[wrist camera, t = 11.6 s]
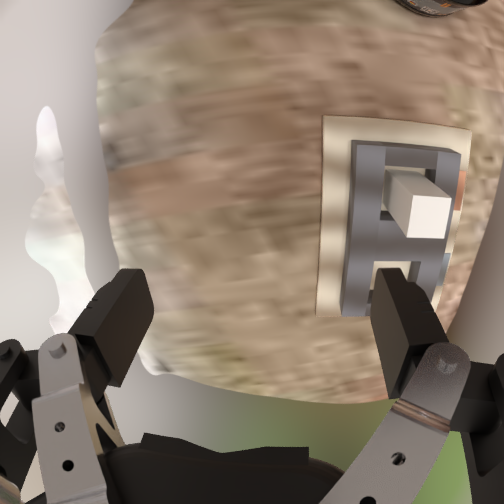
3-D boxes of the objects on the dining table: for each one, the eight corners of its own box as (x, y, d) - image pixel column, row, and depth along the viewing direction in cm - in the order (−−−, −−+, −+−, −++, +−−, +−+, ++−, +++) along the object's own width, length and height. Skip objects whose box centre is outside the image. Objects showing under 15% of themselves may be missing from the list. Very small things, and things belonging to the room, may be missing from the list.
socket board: (322, 114, 32) (326, 118, 28) (467, 129, 30) (484, 135, 26) (315, 312, 44) (316, 331, 41) (432, 309, 42) (441, 326, 39)
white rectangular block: (385, 168, 33) (413, 195, 25) (417, 171, 32) (451, 198, 25) (382, 202, 35) (406, 237, 27) (413, 204, 34) (443, 238, 27)
